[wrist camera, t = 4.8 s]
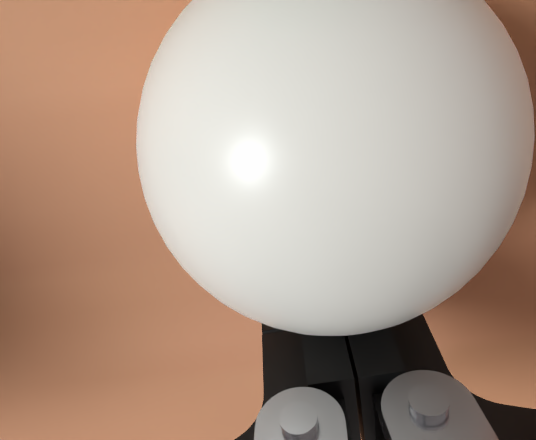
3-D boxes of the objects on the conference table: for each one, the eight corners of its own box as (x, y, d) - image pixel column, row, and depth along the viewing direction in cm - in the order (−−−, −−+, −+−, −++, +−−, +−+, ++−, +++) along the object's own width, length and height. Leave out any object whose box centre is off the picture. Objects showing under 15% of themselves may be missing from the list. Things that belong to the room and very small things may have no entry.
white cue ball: (202, 309, 10) (161, 49, 10) (460, 271, 10) (425, 7, 10) (114, 445, 5) (15, -136, 4) (686, 365, 4) (621, -240, 4)
